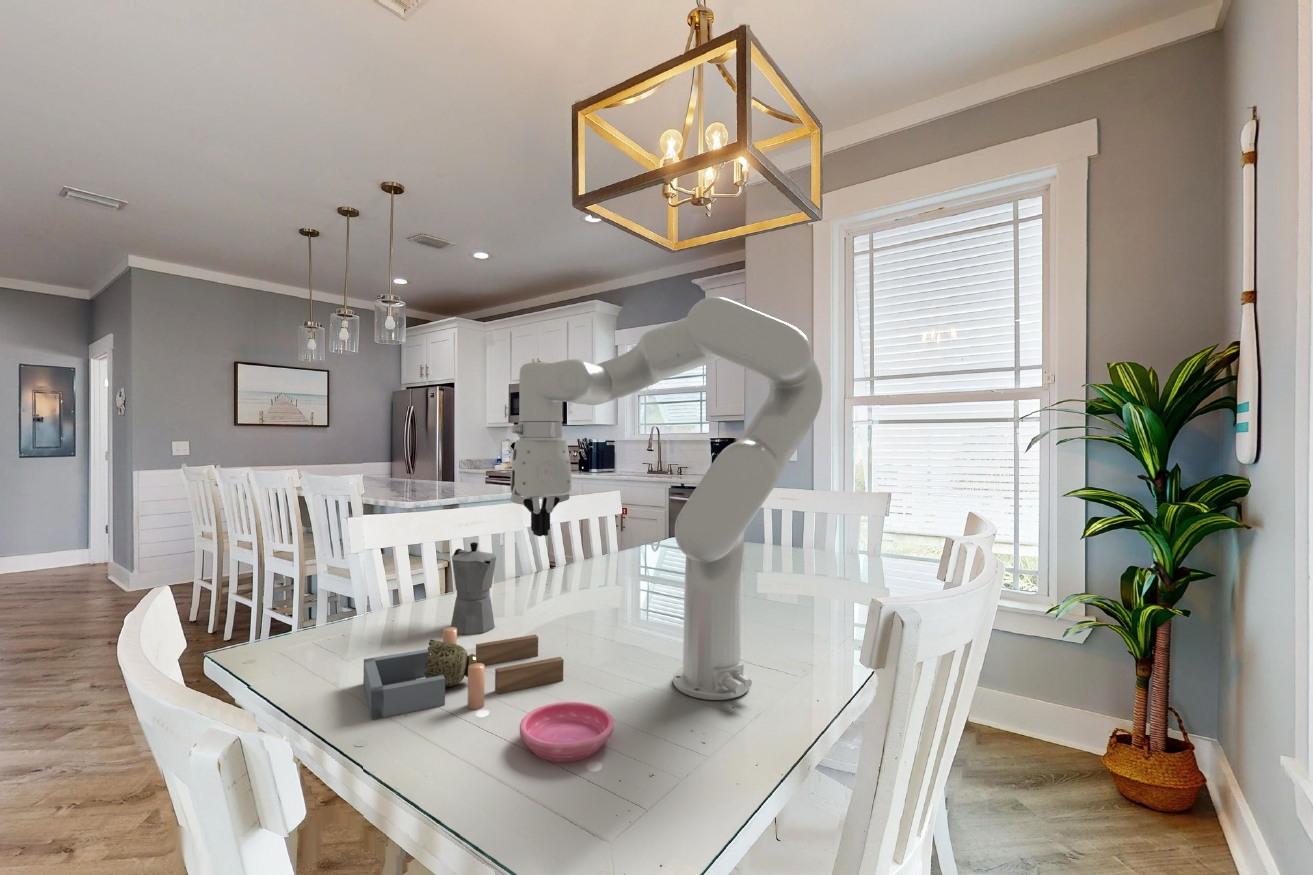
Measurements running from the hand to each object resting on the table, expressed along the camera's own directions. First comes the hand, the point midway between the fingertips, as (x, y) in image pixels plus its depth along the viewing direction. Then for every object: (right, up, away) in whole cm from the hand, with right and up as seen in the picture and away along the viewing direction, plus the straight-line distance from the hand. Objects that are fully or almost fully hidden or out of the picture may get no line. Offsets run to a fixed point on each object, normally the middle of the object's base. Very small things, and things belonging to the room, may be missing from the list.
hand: (540, 534), depth 107 cm
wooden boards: (-3, -23, -4) cm, 24 cm away
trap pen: (-19, -23, -13) cm, 33 cm away
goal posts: (-11, -23, -9) cm, 27 cm away
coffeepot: (-19, -23, +19) cm, 35 cm away
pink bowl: (+9, -24, -27) cm, 37 cm away
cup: (-9, -20, -8) cm, 24 cm away
